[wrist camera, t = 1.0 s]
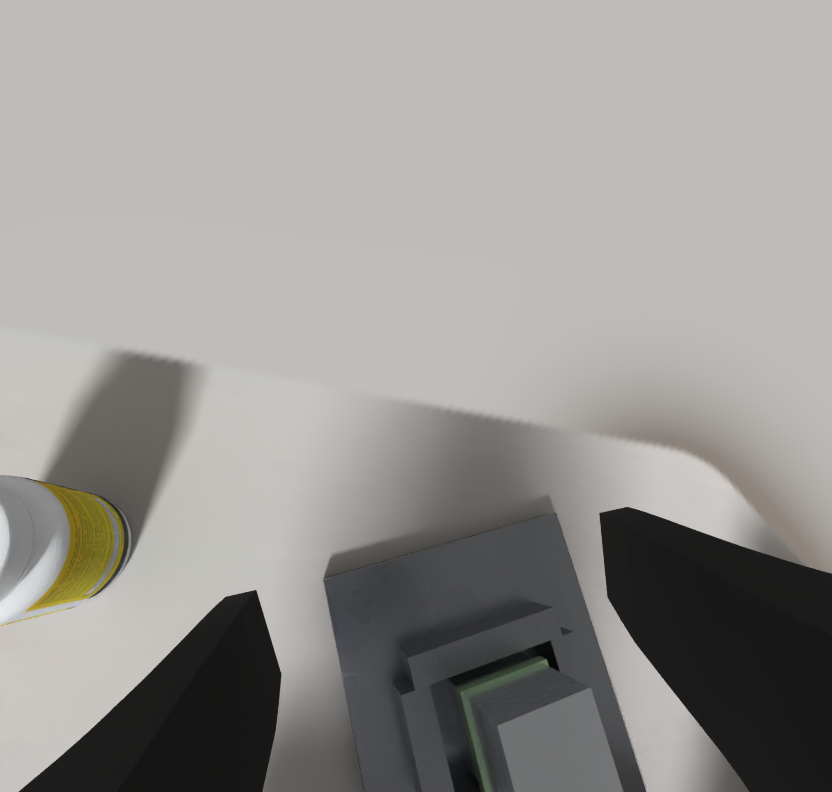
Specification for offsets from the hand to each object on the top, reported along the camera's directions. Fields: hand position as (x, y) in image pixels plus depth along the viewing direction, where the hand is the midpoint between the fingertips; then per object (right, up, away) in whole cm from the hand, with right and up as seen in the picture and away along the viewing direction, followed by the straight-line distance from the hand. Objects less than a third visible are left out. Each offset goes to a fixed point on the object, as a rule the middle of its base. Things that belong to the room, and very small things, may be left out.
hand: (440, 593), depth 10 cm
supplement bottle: (-15, -3, +11) cm, 19 cm away
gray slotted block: (+3, -10, +11) cm, 15 cm away
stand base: (+3, -10, +12) cm, 16 cm away
